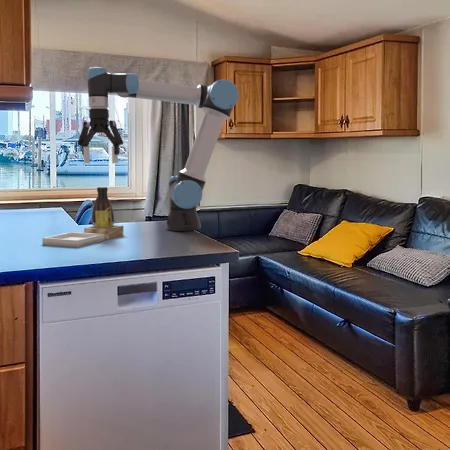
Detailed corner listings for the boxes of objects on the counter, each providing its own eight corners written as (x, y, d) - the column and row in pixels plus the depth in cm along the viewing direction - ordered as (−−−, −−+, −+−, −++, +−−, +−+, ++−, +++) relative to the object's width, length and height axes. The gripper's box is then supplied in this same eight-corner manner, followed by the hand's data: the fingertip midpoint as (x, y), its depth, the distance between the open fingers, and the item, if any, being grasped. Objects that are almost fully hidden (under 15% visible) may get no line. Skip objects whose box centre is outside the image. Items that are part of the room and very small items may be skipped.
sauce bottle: (112, 237, 214) (110, 187, 211) (96, 238, 212) (94, 187, 210) (112, 235, 220) (110, 186, 217) (96, 235, 219) (94, 186, 216)
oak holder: (123, 235, 219) (123, 225, 218) (107, 239, 209) (106, 229, 208) (101, 233, 223) (101, 224, 223) (84, 237, 213) (84, 227, 213)
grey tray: (104, 240, 206) (104, 234, 206) (77, 247, 192) (76, 240, 192) (71, 238, 213) (71, 231, 213) (42, 244, 198) (42, 238, 198)
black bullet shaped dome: (118, 227, 241) (117, 193, 239) (111, 231, 231) (109, 195, 229) (96, 227, 242) (94, 194, 240) (88, 231, 232) (86, 195, 230)
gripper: (66, 109, 211) (69, 163, 214) (119, 106, 201) (121, 163, 204) (79, 110, 218) (81, 162, 221) (131, 107, 208) (132, 163, 210)
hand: (100, 163), depth 212 cm, fingers open, 13 cm apart
